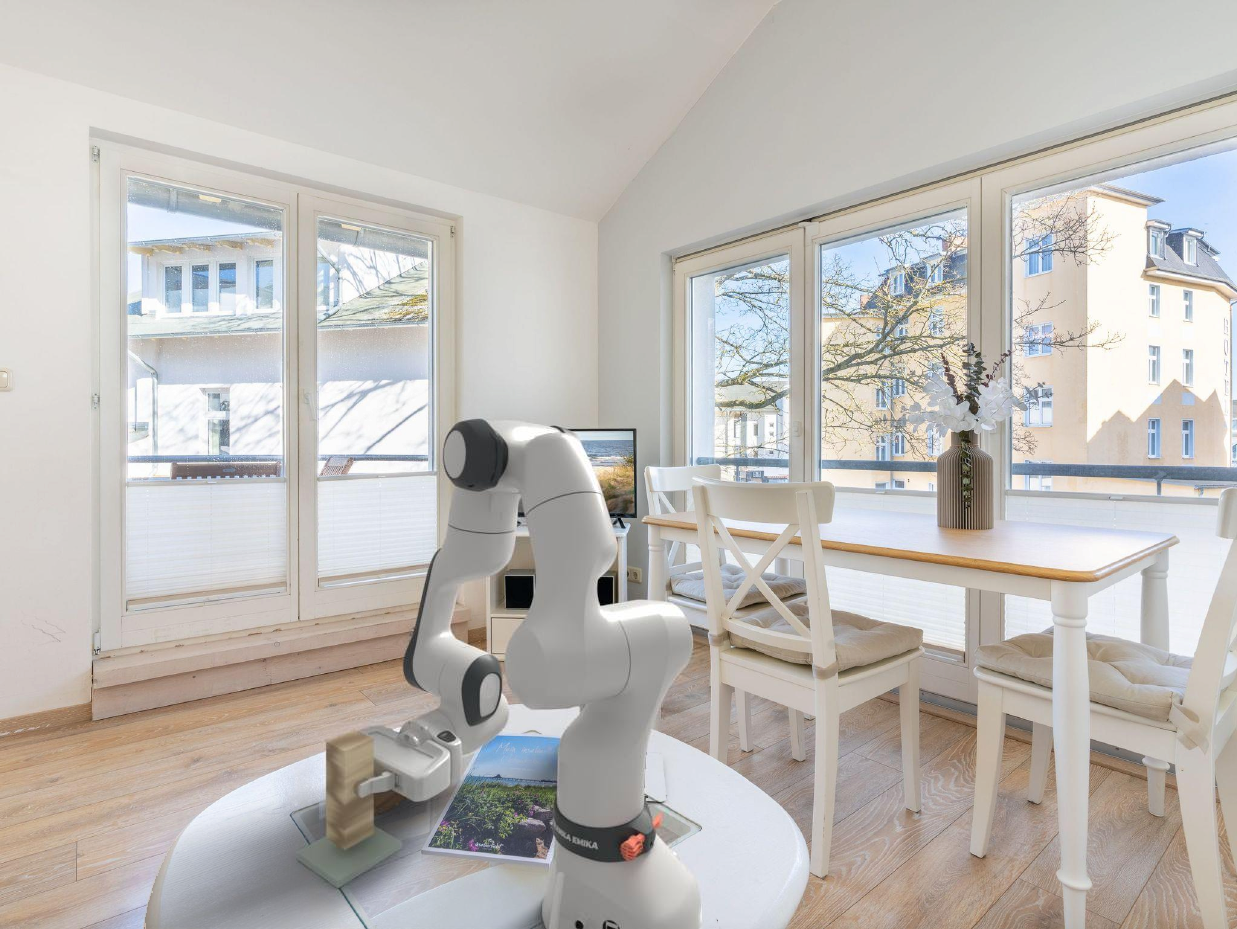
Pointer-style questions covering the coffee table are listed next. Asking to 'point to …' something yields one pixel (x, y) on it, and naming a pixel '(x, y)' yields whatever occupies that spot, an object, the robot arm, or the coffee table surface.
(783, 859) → the coffee table surface
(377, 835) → the pad
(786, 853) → the coffee table surface
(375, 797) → the pocket
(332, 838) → the oak block
